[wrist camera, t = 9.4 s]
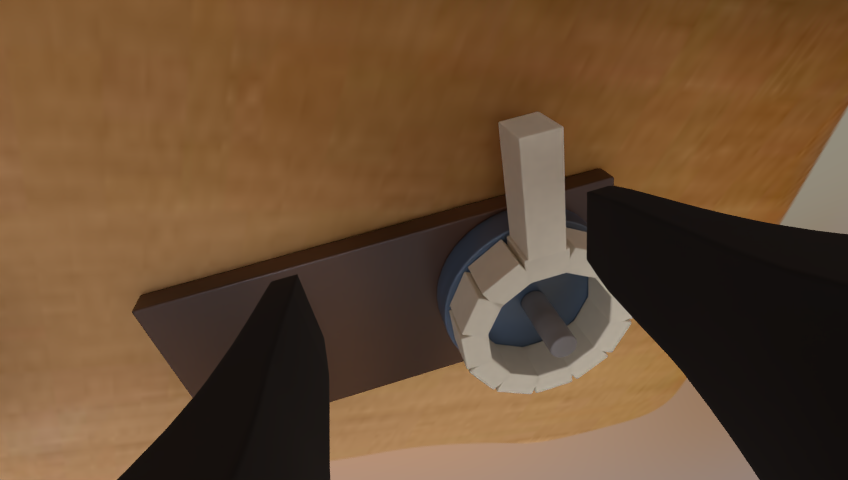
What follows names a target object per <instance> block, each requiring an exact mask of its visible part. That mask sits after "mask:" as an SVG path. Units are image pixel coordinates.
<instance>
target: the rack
mask: <svg viewBox="0 0 848 480" xmlns="http://www.w3.org/2000/svg"><path fill="white" fill-rule="evenodd" d="M606 186H614V178H613V176H611V175H610V174H608V173H607V172H605V171H604V170H602V169H596V170H592V171H589V172H585V173H582V174H578V175H574V176H571V177H567V178H565V214H566V227H567V228H571V229H575V230H580V231H584V232H587V192H589V191H592V190H596V189H599V188H603V187H606ZM507 236H510V233H509V223H508V213H507V203H506V195H502V196H499V197H495V198H491V199H488V200H484V201H480V202H477V203H473V204H470V205H466V206H462V207H459V208H455V209H452V210H448V211H444V212H441V213H437V214H434V215H430V216H426V217H423V218H419V219H415V220H412V221H408V222H405V223H401V224H397V225H394V226H390V227H387V228H383V229H379V230H376V231H372V232H369V233H365V234H361V235H358V236H354V237H351V238H347V239H343V240H340V241H336V242H332V243H329V244H325V245H322V246H318V247H314V248H311V249H307V250H304V251H300V252H296V253H293V254H289V255H286V256H282V257H278V258H275V259H271V260H268V261H264V262H260V263H257V264H253V265H249V266H246V267H242V268H239V269H235V270H231V271H228V272H224V273H221V274H217V275H213V276H210V277H206V278H203V279H199V280H195V281H192V282H188V283H184V284H181V285H177V286H174V287H170V288H166V289H163V290H159V291H156V292H152V293H148V294H145V295H141V296H140V297H139V299H138V301H137V303H136V305H135V307H134V309H133V311H132V313H133V315H134V316H135V317H136V319H137V320H138V322H139V323H140V324H141V326H142V327H143V329H144V330H145V331H146V333H147V334H148V336H149V337H150V338H151V340H152V341H153V343H154V344H155V346H156V347H157V348H158V350H159V351H160V353H161V354H162V355H163V357H164V358H165V360H166V361H167V362H168V364H169V365H170V367H171V368H172V369H173V371H174V372H175V374H176V375H177V376H178V378H179V379H180V381H181V382H182V383H183V385H184V386H185V388H186V389H187V390H188V392H189V393H190V395H191V396H192V397H194V396H195V395H196V394H197V392H198V391H199V390H200V389H201V387H202V386H203V385H204V383H205V382H206V381H207V379H208V378H209V377H210V375H211V374H212V372H213V371H214V370H215V368H216V367H217V365H218V364H219V362H220V361H221V360H222V358H223V357H224V355H225V354H226V353H227V351H228V350H229V348H230V347H231V345H232V344H233V342H234V341H235V339H236V338H237V336H238V335H239V333H240V331H241V330H242V328H243V327H244V325H245V324H246V322H247V320H248V319H249V317H250V315H251V314H252V312H253V310H254V309H255V307H256V305H257V304H258V302H259V300H260V299H261V297H262V296H263V294H264V292H265V291H266V289H267V287H268V286H269V284H270V283H271V281H275V280H278V279H282V278H285V277H289V276H292V275H296V274H297V275H298V277H299V279H300V282H301V284H302V287H303V289H304V291H305V294H306V296H307V298H308V301H309V303H310V305H311V308H312V310H313V313H314V315H315V317H316V320H317V322H318V324H319V327H320V329H321V331H322V334H323V336H324V340H325V347H326V354H327V362H328V370H329V402H332V401H335V400H338V399H342V398H345V397H348V396H352V395H355V394H358V393H361V392H365V391H368V390H371V389H374V388H378V387H381V386H384V385H387V384H391V383H394V382H397V381H400V380H404V379H407V378H410V377H413V376H417V375H420V374H423V373H426V372H430V371H433V370H436V369H440V368H443V367H446V366H449V365H453V364H456V363H459V362H462V361H464V360H463V358H462V355H461V353H460V350H459V348H458V345H457V343H456V340H455V337H454V332H453V327H452V322H451V318H450V313H449V310H451V307H450V304H451V301H452V299H453V297H454V294H455V292H456V290H457V288H458V285H459V283H460V281H461V278H462V276H463V274H464V272H470V270H469V269H468V266H470V265H471V264H472V263H473V262H474V261H476V260H477V259H478V258H479V257H480V256H482V255H483V254H484V253H485V252H486V251H488V250H489V249H490V248H491V247H492V246H494V245H495V244H496V243H497V242H498V241H500V240H503V241H504V242H505V243H506V244H507ZM470 273H471V272H470ZM587 298H588V277H587V276H581V275H576V274H571V273H563V274H560V275H557V276H553V277H550V278H546V279H543V280H540V281H536V282H533V283H531V284H529V285H528V286H527V287H526V288H524V289H523V290H522V291H521V292H519V293H518V294H517V295H516V296H514V297H513V298H512V299H511V300H510V301H508V302H507V303H506V304H505V305H503V306H502V308H501V310H500V312H499V314H498V316H497V318H496V320H495V322H494V324H493V326H492V328H491V330H490V332H489V334H488V335H489V339H490V340H491V341H492V342H494V343H495V344H500V345H509V346H517V347H525V346H528V345H531V344H534V343H538V342H541V341H543V342H544V343H545V345H546V346H547V348H548V349H549V351H550V353H551V354H552V355H553V356H555V357H558V358H561V357H565V356H568V355H570V354H571V353H572V352H573V351H574V350H575V349H576V347H577V339H576V338H575V336H574V335H573V334H572V332H571V331H570V330H569V328H568V327H567V325H569V324H570V323H571V322H573V321H574V320H575V318H576V316H577V315H578V313H579V311H580V309H581V308H582V306H583V304H584V303H585V301H586V299H587Z"/></svg>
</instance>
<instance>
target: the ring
mask: <svg viewBox="0 0 848 480" xmlns="http://www.w3.org/2000/svg"><path fill="white" fill-rule="evenodd" d="M498 125H499V135H500V145H501V154H502V164H503V174H504V184H505V193H506V203H507V213H508V223H509V233H510V236H507V244H506V243H505V242H504V241H503V240H500V241H498V242H497V243H496V244H495V245H494V246H492V247H491V248H490V249H489V250H488V251H486V252H485V253H484V254H483V255H482V256H480V257H479V258H478V259H477V260H476V261H474V262H473V263H472V264H471V265H470V266H468V269H469V270H470V272H471V273H470V272H464V274H463V276H462V278H461V281H460V283H459V285H458V288H457V290H456V292H455V294H454V297H453V299H452V301H451V304H450V307H451V310H449V313H450V318H451V322H452V327H453V332H454V337H455V340H456V343H457V345H458V348H459V350H460V353H461V355H462V358H463V360H464V363H465V365H466V368H467V369H469V372H470V373H471V374H473V375H474V376H475V377H477V378H478V379H479V380H481V381H482V382H483V383H485V384H486V385H488V386H489V387H490V388H492V389H495V388H496V390H497V391H498V392H509V393H522V394H532V392H533V390H535V392H536V393H538V392H541V391H545V390H548V389H551V388H554V387H557V386H560V385H563V384H567V383H570V382H572V375H573V376H574V377H575V378H576V379H578V378H579V377H581V376H582V375H583V374H585V373H586V372H588V371H589V370H590V369H592V368H593V367H594V366H596V365H597V364H598V363H600V362H601V361H603V360H604V359H605V358H607V357H608V356H607V354H606V352H613V350H614V349H615V347H616V346H617V344H618V343H619V341H620V340H621V338H622V337H623V335H624V334H625V332H626V331H627V329H628V327H629V326H630V324H631V321H630V320H629V319H631V318H633V317H632V316H631V315H630V314H629V313H628V312H627V311H626V310H625V309H624V308H623V306H622V305H621V304H620V303H619V302H618V301H617V300H616V299H615V298H614V297H613V296H612V294H611V293H610V292H609V291H608V290H607V289H606V287H605V286H604V284H603V283H602V282H601V280H600V279H599V277H598V276H597V275H596V273H595V272H594V270H593V269H592V267H591V266H590V264H589V263H588V261H587V232H584V231H580V230H575V229H571V228H567V227H566V214H565V170H564V128H563V126H561V125H560V124H558V123H556V122H555V121H553V120H551V119H550V118H548V117H547V116H545V115H543V114H542V113H540V112H534V113H531V114H527V115H523V116H519V117H515V118H512V119H508V120H504V121H500V122H498ZM563 273H571V274H576V275H581V276H587V277H588V298H587V299H586V301H585V303H584V304H583V306H582V308H581V309H580V311H579V313H578V315H577V316H576V318H575V320H574V321H573V322H571V323H570V324H569V325H567V327H568V328H569V330H570V331H571V332H572V334H573V335H574V336H575V338H576V339H577V347H576V349H575V350H574V351H573V352H572V353H571V354H570V355H568V356H565V357H561V358H558V357H555V356H553V355H552V354H551V353H550V351H549V349H548V348H547V346H546V345H545V343H544V342H543V341H541V342H538V343H534V344H531V345H528V346H525V347H517V346H509V345H500V344H495V343H494V342H492V341H491V340H490V339H489V335H488V334H489V332H490V330H491V328H492V326H493V324H494V322H495V320H496V318H497V316H498V314H499V312H500V310H501V308H502V306H503V305H505V304H506V303H507V302H508V301H510V300H511V299H512V298H513V297H514V296H516V295H517V294H518V293H519V292H521V291H522V290H523V289H524V288H526V287H527V286H528V285H529V284H531V283H533V282H536V281H540V280H543V279H546V278H550V277H553V276H557V275H560V274H563Z"/></svg>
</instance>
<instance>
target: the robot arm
mask: <svg viewBox="0 0 848 480" xmlns="http://www.w3.org/2000/svg"><path fill="white" fill-rule="evenodd" d="M587 261H588V263H589V264H590V266H591V267H592V269H593V270H594V272H595V273H596V275H597V276H598V277H599V279H600V280H601V282H602V283H603V284H604V286H605V287H606V289H607V290H608V291H609V292H610V293H611V294H612V296H613V297H614V298H615V299H616V300H617V301H618V302H619V303H620V304H621V305H622V306H623V308H624V309H625V310H626V311H627V312H628V313H629V314H630V315H631V316H632V317H633V318H634V319H635V320H636V321H637V323H638V324H639V325H640V326H641V327H642V328H643V329H644V330H645V331H646V332H647V333H648V334H649V335H650V336H651V337H652V338H653V339H654V341H655V342H656V343H657V344H658V345H659V346H660V347H661V348H662V349H663V350H664V351H665V352H666V353H667V354H668V355H669V357H670V358H671V359H672V360H673V361H674V362H675V364H676V365H677V366H678V367H679V368H680V369H681V370H682V372H683V373H684V374H685V376H686V377H687V378H688V380H689V381H690V382H691V384H692V385H693V386H694V387H695V389H696V390H697V391H698V393H699V394H700V395H701V397H702V398H703V399H704V401H705V402H706V403H707V405H708V406H709V407H710V409H711V410H712V411H713V413H714V414H715V416H716V417H717V418H718V420H719V421H720V422H721V424H722V425H723V427H724V428H725V430H726V431H727V432H728V434H729V435H730V437H731V438H732V439H733V441H734V442H735V444H736V445H737V447H738V448H739V449H740V451H741V453H742V454H743V455H744V457H745V458H746V460H747V462H748V463H749V464H750V466H751V467H752V469H753V471H754V472H755V474H756V475H757V477H758V478H759V479H760V480H848V234H839V233H831V232H823V231H815V230H808V229H802V228H796V227H789V226H783V225H777V224H771V223H766V222H760V221H755V220H751V219H746V218H741V217H737V216H732V215H728V214H723V213H719V212H715V211H711V210H707V209H703V208H699V207H695V206H691V205H687V204H684V203H680V202H676V201H672V200H669V199H665V198H661V197H658V196H654V195H650V194H647V193H643V192H639V191H635V190H631V189H627V188H622V187H617V186H606V187H603V188H599V189H596V190H592V191H589V192H587ZM117 480H330V439H329V370H328V362H327V354H326V347H325V340H324V336H323V334H322V331H321V329H320V327H319V324H318V322H317V320H316V317H315V315H314V313H313V310H312V308H311V305H310V303H309V301H308V298H307V296H306V294H305V291H304V289H303V287H302V284H301V282H300V279H299V277H298V275H297V274H296V275H292V276H289V277H285V278H282V279H278V280H275V281H271V283H270V284H269V286H268V287H267V289H266V291H265V292H264V294H263V296H262V297H261V299H260V300H259V302H258V304H257V305H256V307H255V309H254V310H253V312H252V314H251V315H250V317H249V319H248V320H247V322H246V324H245V325H244V327H243V328H242V330H241V331H240V333H239V335H238V336H237V338H236V339H235V341H234V342H233V344H232V345H231V347H230V348H229V350H228V351H227V353H226V354H225V355H224V357H223V358H222V360H221V361H220V362H219V364H218V365H217V367H216V368H215V370H214V371H213V372H212V374H211V375H210V377H209V378H208V379H207V381H206V382H205V383H204V385H203V386H202V387H201V389H200V390H199V391H198V392H197V394H196V395H195V396H194V397H193V399H192V400H191V401H190V402H189V403H188V405H187V406H186V407H185V408H184V409H183V410H182V412H181V413H180V414H179V415H178V416H177V417H176V419H175V420H174V421H173V422H172V423H171V424H170V425H169V427H168V428H167V429H166V430H165V431H164V432H163V433H162V434H161V435H160V436H159V437H158V438H157V439H156V440H155V441H154V442H153V443H152V445H151V446H150V447H149V448H148V449H147V450H146V451H145V452H144V453H143V454H142V455H141V456H140V457H139V458H138V459H137V460H136V461H135V462H134V463H133V464H132V465H131V466H130V467H129V468H128V469H127V470H126V471H125V472H124V473H123V474H122V475H121V476H120V477H119V478H118V479H117Z"/></svg>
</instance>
